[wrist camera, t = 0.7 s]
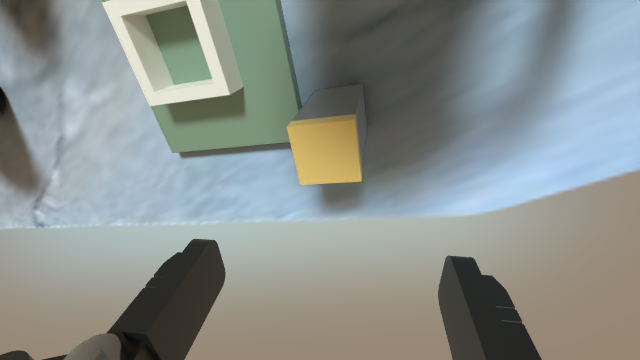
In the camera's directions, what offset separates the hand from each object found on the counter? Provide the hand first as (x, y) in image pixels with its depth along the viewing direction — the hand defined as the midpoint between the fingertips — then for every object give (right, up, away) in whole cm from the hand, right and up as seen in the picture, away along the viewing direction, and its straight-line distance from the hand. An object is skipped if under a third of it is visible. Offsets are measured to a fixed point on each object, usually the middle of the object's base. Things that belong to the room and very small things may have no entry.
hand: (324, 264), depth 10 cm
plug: (+2, +9, +15) cm, 17 cm away
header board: (-10, +16, +13) cm, 23 cm away
